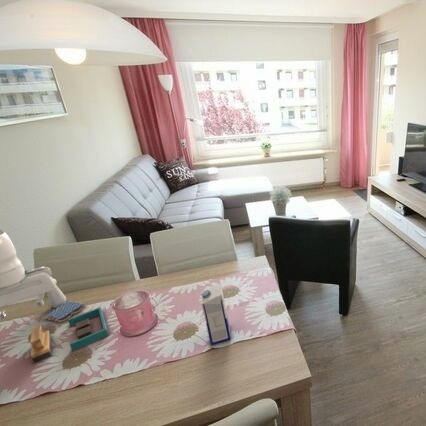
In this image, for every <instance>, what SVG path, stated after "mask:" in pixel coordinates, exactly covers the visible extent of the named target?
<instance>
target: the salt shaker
mask: <svg viewBox="0 0 426 426" xmlns="http://www.w3.org/2000/svg"><path fill="white" fill-rule="evenodd" d="M53 280H54V282H55V284H56V287H55V289H54V290H53V291H50V292H47V293H46V294H47V301H48V305H49V306H50V307H52V309H56V308H57V307H59V306H61V305H63V304H64V303H65V302H67V297H66V295H65V294H64V293H63V291H62V290H61V289H60V288H59V286H58V285H57V283H58V282H57V280H56V279H55V278H53Z"/></svg>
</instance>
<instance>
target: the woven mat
mask: <svg viewBox="0 0 426 426" xmlns="http://www.w3.org/2000/svg"><path fill="white" fill-rule="evenodd" d="M85 307H86V304H84V303H81V302H78V301H71V300H66V302H65V303H64V304H63V305H61V306H59V307H57V308H52V310H51V311H48V313H46V314H44V318H43V319H44V320H48V321H51V320H52V321H54V322H57V323H63V322H66V320H68V319H70V318H72V316H73V315H75V314H77V313H79V312H80V311H81V310H83V309H84V308H85Z"/></svg>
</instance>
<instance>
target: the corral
mask: <svg viewBox="0 0 426 426" xmlns="http://www.w3.org/2000/svg"><path fill="white" fill-rule="evenodd" d="M96 317H100V321H101V325H102V329H101V330H100V329H99V330H97V331H96V332H94V333H93V332H92V334H91V335H89V336H86V337H84V338H81V339H79V340H78V339H76V340H74V341H72V342H70V343H69V347H70V349H71V351H72V352H74V351H77V350H79V349H81V348H83V347H86V346H87V345H90V344H92V343H95V342H97V341H99V340H101V339H104V338H106V337H108V336H109V332H108V331H109V330H108V328H107V324H106V320H105V315H104V311H103V309H102V307H101V306H99V307H97V308H94V309H92V310H88V311H87V312H84V313H81V314H79V315H78V314H77V315H75V316H73V317H70V318H68V319H67V322H68V324H69V326H70V327H73V326H76V323H78V322H80V321H83V320H86V319H89V320H90V319H93V318H96Z"/></svg>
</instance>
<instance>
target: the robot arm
mask: <svg viewBox="0 0 426 426" xmlns="http://www.w3.org/2000/svg"><path fill="white" fill-rule="evenodd" d="M17 253H18V252H17V249H16V248H15V244H14V243H13V242H12V240H11V238H10V236H9V235H8V233H6V232H5V231H4V230H1V229H0V308H1V307H5V306H9V305H12V304H14V303H17V302H22V301H23V300H27V299H30V298H33V297H37V296H38V298H39V299H36V306H37V307H41V306H44V305H45V302H44V298H45V294H47V292H50V291H53V290H54V289H55V287H56V285H57V283H56V284H55V282H54V280H53V279H54V278H53V276H52V275H53V271H52V269H51V268H49V267H46V266H39V267H37V268H32V269H27V270H25V267H24V265H23V263H22V261H21V260H20V259H19V258H18V256H17ZM6 318H7V313H6V311H5V310H3V311H0V320H1V319H6Z"/></svg>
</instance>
